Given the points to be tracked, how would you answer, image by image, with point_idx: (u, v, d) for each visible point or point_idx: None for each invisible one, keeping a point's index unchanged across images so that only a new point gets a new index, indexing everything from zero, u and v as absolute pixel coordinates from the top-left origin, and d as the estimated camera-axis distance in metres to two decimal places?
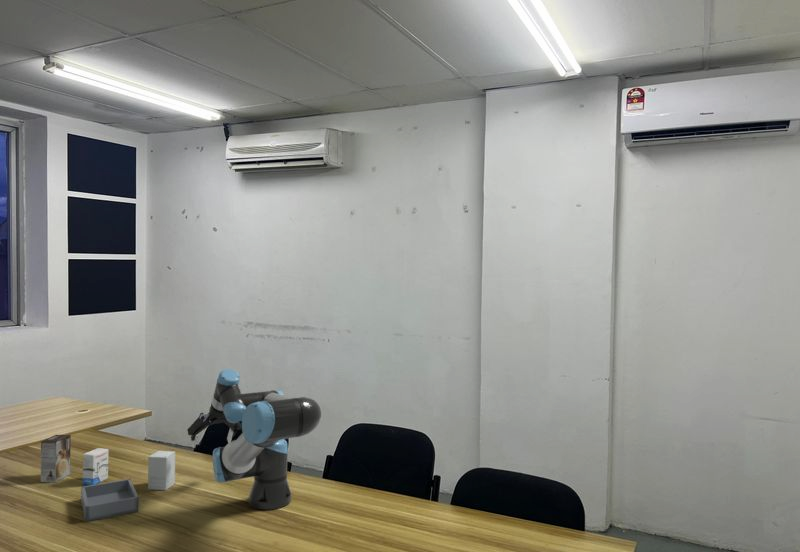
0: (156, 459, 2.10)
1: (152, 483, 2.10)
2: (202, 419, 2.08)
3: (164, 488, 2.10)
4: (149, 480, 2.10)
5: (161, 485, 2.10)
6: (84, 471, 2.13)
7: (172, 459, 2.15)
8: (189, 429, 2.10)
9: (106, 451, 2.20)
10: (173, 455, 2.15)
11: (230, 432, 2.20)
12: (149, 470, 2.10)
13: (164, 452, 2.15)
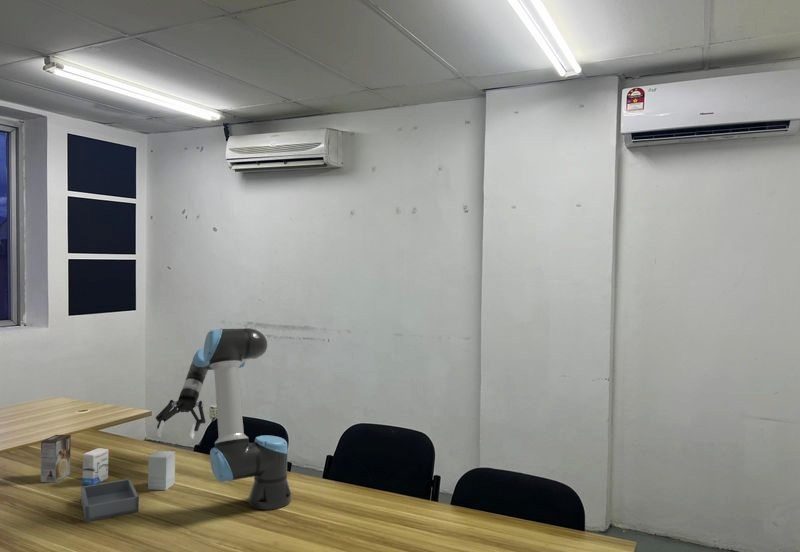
0: (156, 459, 2.10)
1: (152, 483, 2.10)
2: (170, 401, 2.34)
3: (164, 488, 2.10)
4: (149, 480, 2.10)
5: (161, 485, 2.10)
6: (84, 471, 2.13)
7: (172, 459, 2.15)
8: None
9: (106, 451, 2.20)
10: (173, 454, 2.15)
11: None
12: (149, 470, 2.10)
13: (164, 452, 2.15)
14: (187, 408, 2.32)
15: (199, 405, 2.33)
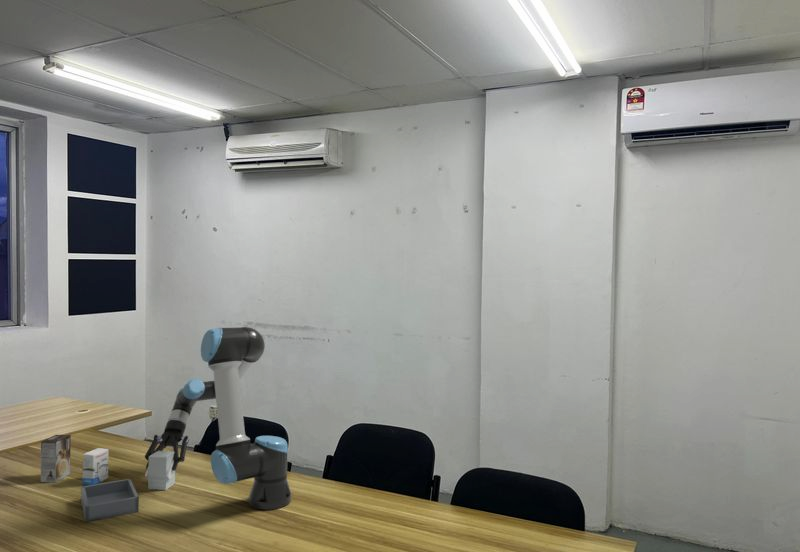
0: (156, 458, 2.10)
1: (152, 483, 2.10)
2: (155, 437, 2.21)
3: (165, 488, 2.10)
4: (150, 480, 2.10)
5: (161, 485, 2.10)
6: (84, 471, 2.13)
7: (172, 459, 2.15)
8: None
9: (106, 451, 2.20)
10: (173, 454, 2.15)
11: None
12: (150, 470, 2.10)
13: (164, 452, 2.15)
14: None
15: (183, 440, 2.20)
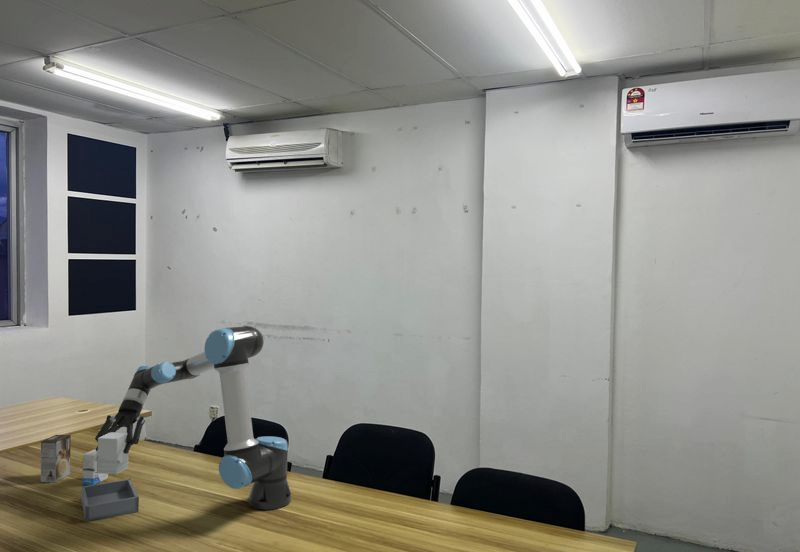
0: (106, 440, 1.93)
1: (101, 466, 1.93)
2: (108, 417, 2.04)
3: (115, 472, 1.93)
4: (99, 464, 1.93)
5: (112, 469, 1.93)
6: (84, 471, 2.13)
7: (125, 441, 1.97)
8: None
9: None
10: (126, 436, 1.98)
11: None
12: (99, 453, 1.93)
13: (116, 433, 1.98)
14: None
15: (138, 421, 2.02)
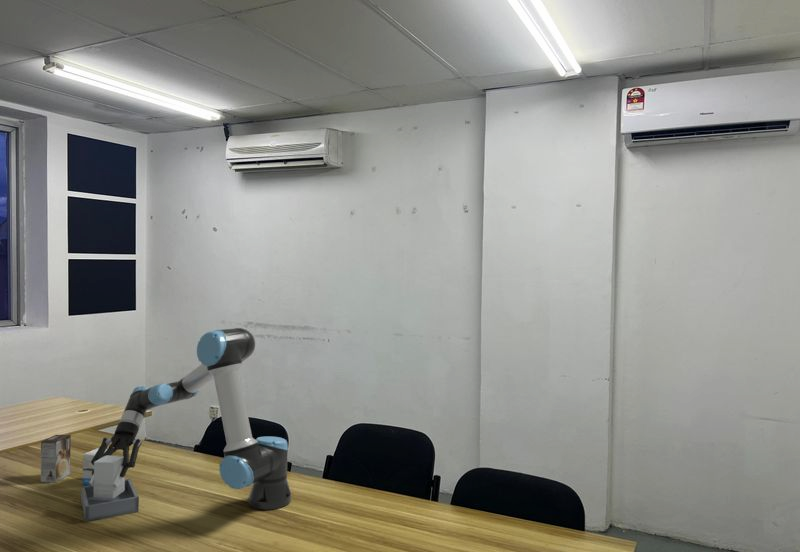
0: (103, 464, 1.92)
1: (97, 491, 1.92)
2: (104, 440, 2.02)
3: (111, 497, 1.91)
4: (95, 488, 1.92)
5: (108, 493, 1.91)
6: (84, 471, 2.13)
7: (121, 464, 1.96)
8: None
9: None
10: (122, 459, 1.97)
11: None
12: (95, 477, 1.92)
13: (112, 457, 1.97)
14: None
15: (135, 444, 2.01)
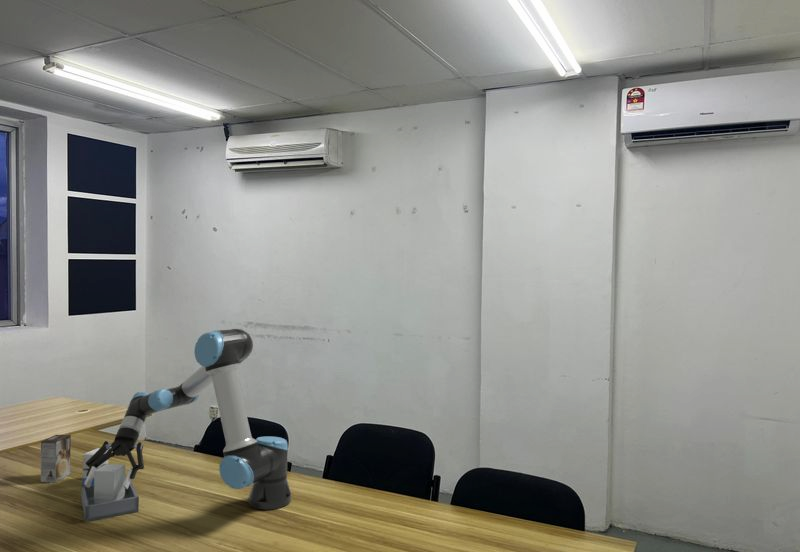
0: (103, 473, 1.91)
1: (98, 500, 1.92)
2: (105, 443, 2.03)
3: None
4: (96, 497, 1.92)
5: None
6: (84, 471, 2.13)
7: (121, 473, 1.96)
8: None
9: (106, 451, 2.20)
10: (123, 468, 1.97)
11: None
12: (95, 486, 1.92)
13: (113, 465, 1.97)
14: (123, 451, 2.01)
15: (137, 447, 2.02)
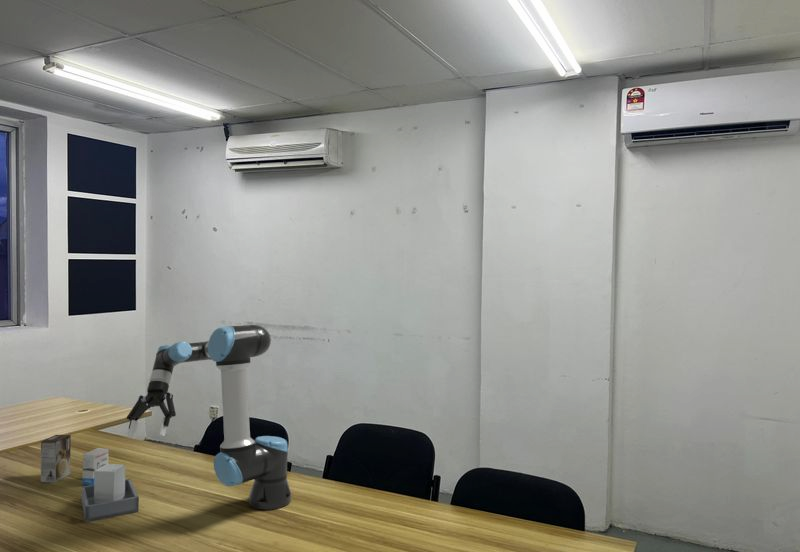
0: (103, 473, 1.91)
1: (98, 500, 1.92)
2: (140, 397, 2.18)
3: None
4: (96, 497, 1.92)
5: None
6: (84, 471, 2.13)
7: (121, 473, 1.96)
8: None
9: (106, 451, 2.20)
10: (123, 468, 1.97)
11: None
12: (95, 486, 1.92)
13: (113, 465, 1.97)
14: (156, 402, 2.15)
15: (167, 397, 2.14)
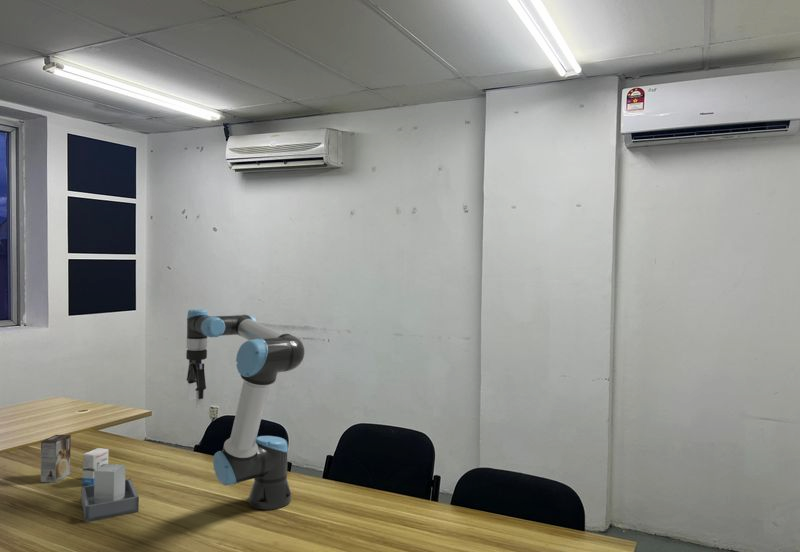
0: (103, 473, 1.91)
1: (98, 500, 1.92)
2: (189, 361, 2.21)
3: None
4: (96, 497, 1.92)
5: None
6: (84, 471, 2.13)
7: (121, 473, 1.96)
8: None
9: (106, 451, 2.20)
10: (123, 468, 1.97)
11: None
12: (95, 486, 1.92)
13: (113, 465, 1.97)
14: None
15: (197, 369, 2.10)
